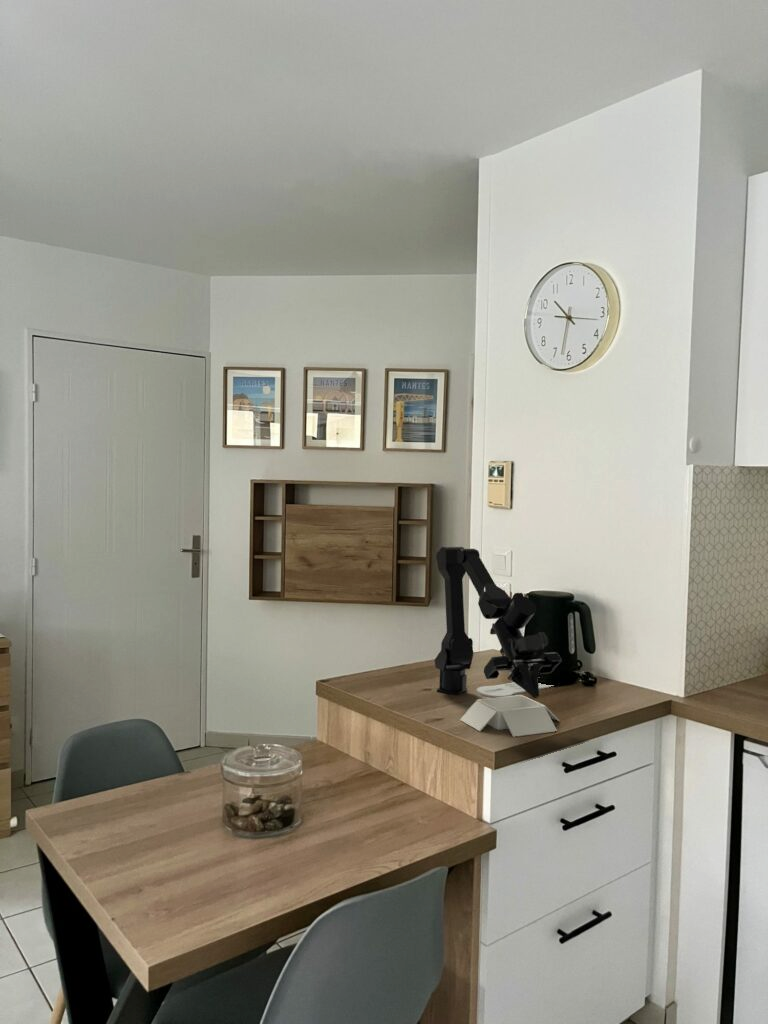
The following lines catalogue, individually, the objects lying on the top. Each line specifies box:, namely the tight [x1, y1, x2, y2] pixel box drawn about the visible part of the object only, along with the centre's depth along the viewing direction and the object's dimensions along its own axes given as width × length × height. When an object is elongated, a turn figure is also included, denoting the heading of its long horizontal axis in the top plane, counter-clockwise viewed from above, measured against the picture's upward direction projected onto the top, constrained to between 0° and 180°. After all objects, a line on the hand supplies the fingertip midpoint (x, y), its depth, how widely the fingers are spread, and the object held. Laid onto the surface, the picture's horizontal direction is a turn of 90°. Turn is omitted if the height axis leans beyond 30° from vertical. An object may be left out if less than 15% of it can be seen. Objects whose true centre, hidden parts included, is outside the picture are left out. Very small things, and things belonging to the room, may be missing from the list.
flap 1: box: [460, 700, 497, 732], centre depth 184 cm, size 9×6×1 cm
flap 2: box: [530, 698, 560, 722], centre depth 191 cm, size 9×6×1 cm
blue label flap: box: [502, 707, 558, 738], centre depth 181 cm, size 6×12×1 cm
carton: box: [476, 694, 547, 731], centre depth 188 cm, size 10×13×4 cm
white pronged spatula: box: [476, 681, 554, 698], centre depth 219 cm, size 28×1×10 cm
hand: (536, 697), depth 178 cm, fingers closed
